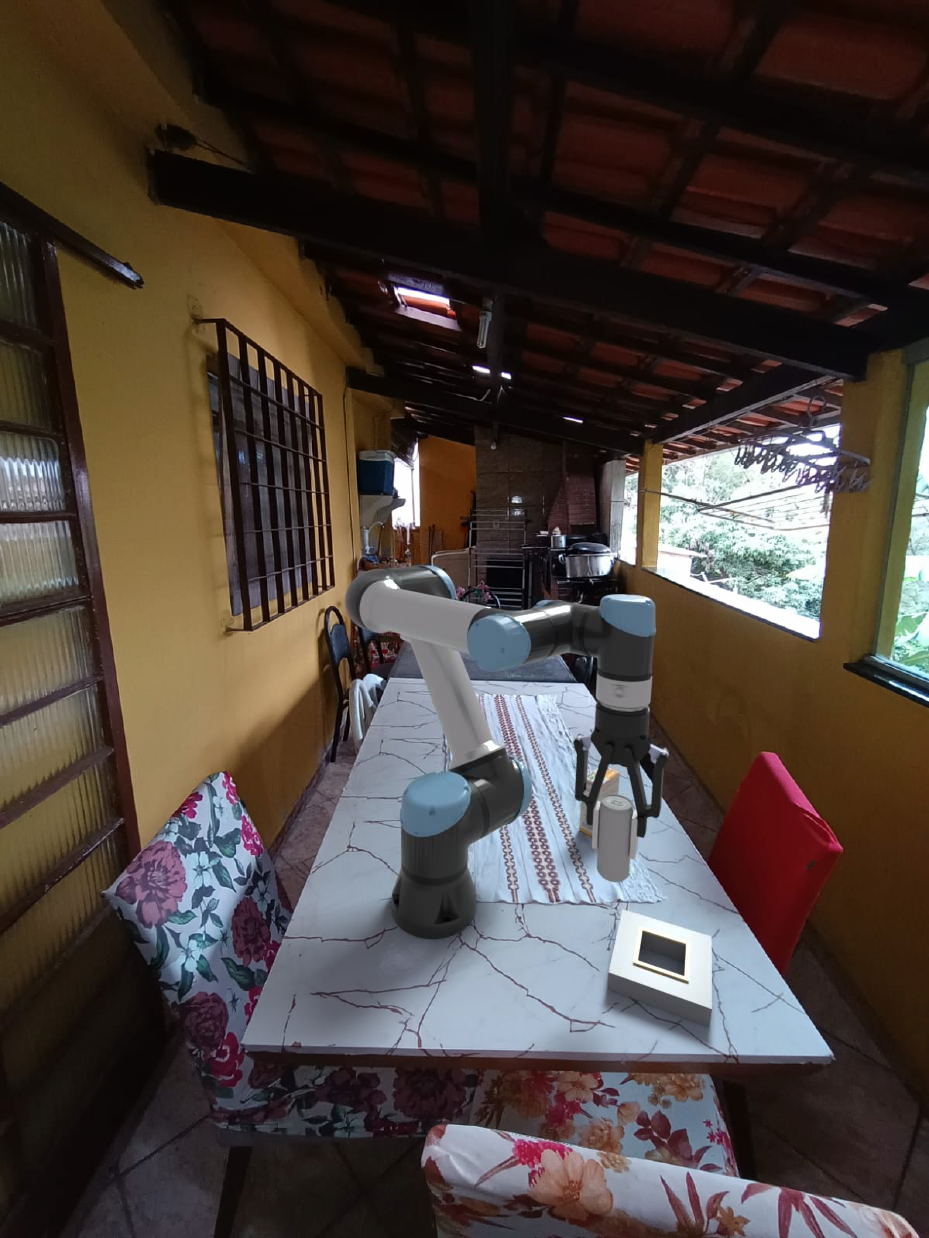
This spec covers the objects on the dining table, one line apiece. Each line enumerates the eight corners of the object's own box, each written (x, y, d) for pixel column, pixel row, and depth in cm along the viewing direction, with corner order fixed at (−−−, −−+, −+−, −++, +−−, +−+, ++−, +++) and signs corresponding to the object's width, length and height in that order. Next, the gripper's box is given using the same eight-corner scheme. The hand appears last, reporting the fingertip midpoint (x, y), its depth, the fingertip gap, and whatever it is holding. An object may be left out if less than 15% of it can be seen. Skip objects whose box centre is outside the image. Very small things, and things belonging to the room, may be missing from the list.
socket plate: (606, 988, 80) (608, 970, 79) (620, 923, 93) (622, 907, 92) (709, 1026, 75) (712, 1007, 74) (709, 952, 87) (711, 934, 86)
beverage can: (605, 859, 86) (609, 790, 84) (634, 872, 83) (639, 800, 80) (590, 874, 82) (594, 802, 80) (620, 888, 79) (625, 814, 77)
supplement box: (597, 815, 125) (601, 763, 122) (616, 824, 122) (621, 771, 119) (577, 830, 119) (581, 776, 116) (596, 839, 116) (600, 784, 113)
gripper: (554, 701, 78) (550, 847, 82) (688, 721, 70) (675, 880, 75) (568, 687, 84) (563, 822, 89) (691, 703, 77) (679, 850, 81)
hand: (614, 848), depth 82 cm, fingers closed on beverage can, 5 cm apart
